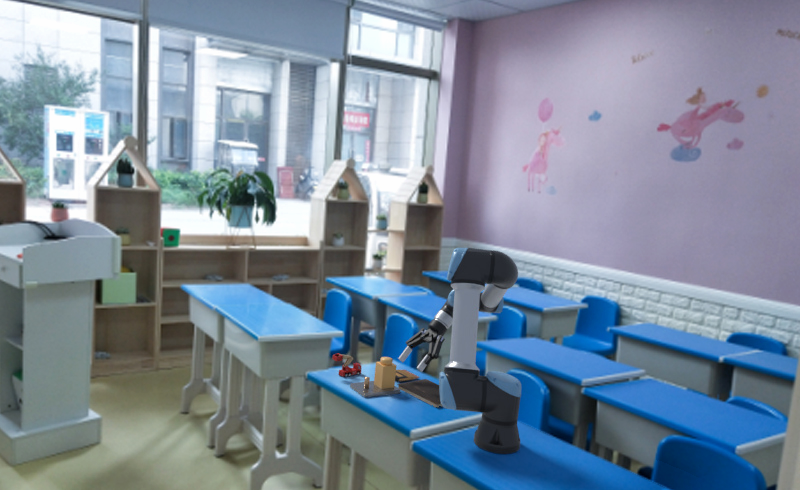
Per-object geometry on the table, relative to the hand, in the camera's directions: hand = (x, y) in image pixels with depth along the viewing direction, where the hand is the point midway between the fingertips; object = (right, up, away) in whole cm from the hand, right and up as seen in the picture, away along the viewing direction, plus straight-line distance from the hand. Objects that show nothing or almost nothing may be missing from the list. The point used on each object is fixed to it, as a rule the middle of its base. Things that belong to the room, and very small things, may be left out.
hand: (409, 365), depth 246 cm
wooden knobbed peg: (-10, -7, -3) cm, 13 cm away
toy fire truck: (-26, -6, +9) cm, 29 cm away
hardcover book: (+8, -12, -4) cm, 15 cm away
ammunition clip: (-8, -7, +10) cm, 14 cm away
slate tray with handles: (-14, -9, -5) cm, 17 cm away
